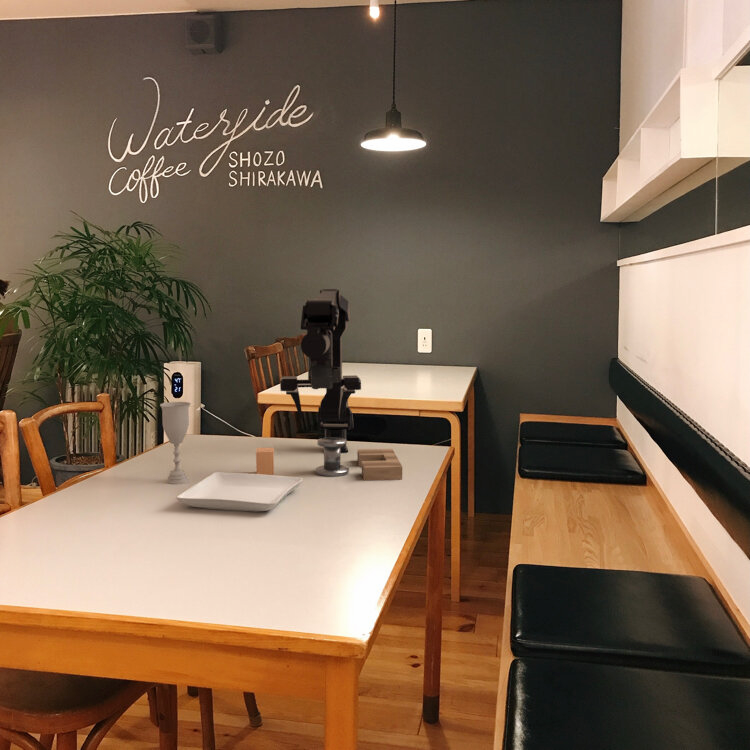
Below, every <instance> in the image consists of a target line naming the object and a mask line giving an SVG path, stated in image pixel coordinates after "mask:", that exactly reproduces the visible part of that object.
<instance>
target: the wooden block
mask: <svg viewBox="0 0 750 750" xmlns="http://www.w3.org/2000/svg"><path fill="white" fill-rule="evenodd" d="M255 454H256V455H255V463H256V467H255V468H256V473H255V474H264V475H275V448H274V447H273V446H272V447H256V451H255Z"/></svg>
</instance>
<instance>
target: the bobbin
mask: <svg viewBox="0 0 750 750" xmlns="http://www.w3.org/2000/svg"><path fill="white" fill-rule="evenodd" d="M347 441H348V440H347V438H346V439H345V438H339V437H326V438H325V437H320V438H318V439H317V446H319V447H322V448H323V447H324V450H323V465H320V466H317V467H316V468H315V475H318V476H321V477H328V478H330V477H331V478H332V477H333V478H334V477H335V478H336V477H342V476H343V477H344V476H346V475H349V474H350V467H349V466H346V465H341V463H342V462H341V461H342V459H341V458H342V457H341V452H340V447H341V446H345V445H346V446H348V445H347V444H348V442H347Z"/></svg>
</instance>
